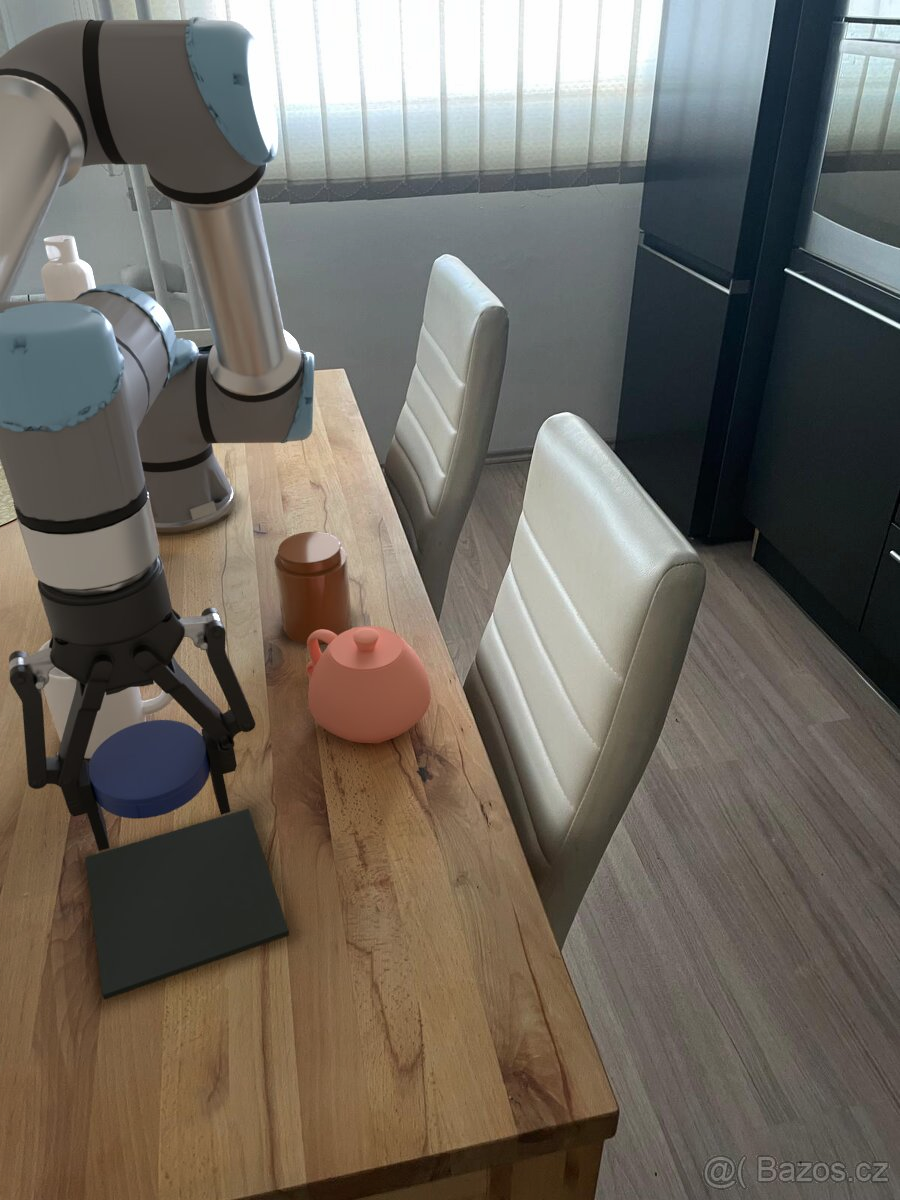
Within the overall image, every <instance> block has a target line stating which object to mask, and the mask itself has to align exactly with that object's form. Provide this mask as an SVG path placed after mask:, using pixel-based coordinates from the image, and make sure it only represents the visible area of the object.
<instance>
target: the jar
mask: <svg viewBox="0 0 900 1200" xmlns="http://www.w3.org/2000/svg"><path fill="white" fill-rule="evenodd" d="M348 566H349V565H348V556H347V552H346V551H345V549H344V548H343V547H342V545H341V541H340V540H339V539H338V538H337V537H336V536H335V535H332V534H330V533H328V532H322V531H304V532H299V533H296V534H293V535H290V536H288V537H287V538H285V539H283V541H281V543H280V544H279V546H278V550H277V554H276V555H275V558H274V569H275V576H276V577H275V578H276V584H277V593H278V601H279V607H280V615H281V623H282V624H281V625H282V629H283V630H282V631H283V632H284V635H285V636H287V637H288V639H290V640H291V641H294V642H297V643H300V644H305V645H307V640H308V638H309V636H310V635H311V634H312V633H313V632H315V631H317V630H321V629H324V630H329V631H331V632H333V633H335V634H336V635H337V636H338V635H339V634H341V633H343V632H345V631H347V630H349V629H351V626H352V625H353V619H352V618H353V617H352V605H351V592H350V580H349V567H348ZM318 644H319V645H320V644H321V645H322V644H327V643H326V642H324V641H322V640H319V639H318Z"/></svg>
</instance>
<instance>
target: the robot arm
mask: <svg viewBox="0 0 900 1200" xmlns="http://www.w3.org/2000/svg"><path fill="white" fill-rule="evenodd" d="M278 148H279V133H278V119H277V114H276V110H275V106H274V97H273V91H272V86H271V81H270V77H269V73H268V70H267V67H266V63H265V61H264V58H263V55H262V52H261V50H260V48H259V45H258V42H257V41H256V40H255V38H254V36H253V35H252V33H251V32H250V31H249V30H248V29H247V28H245V27H244V25H242V24H240V23H239V22H236V21H233V20H221V19H220V20H217V19H215V20H214V19H207V18H206V17H202V16H192V17H190V18H189V19H105V20H104V19H101V20H100V19H99V20H94V19H91V18H90V19H74V20H70V21H69V20H68V21H64V22H60V23H56V24H54V25H52V26H49V27H45V28H43V29H41V30H39V31H38V32H35V33H33V34H32V35H30V36H28V37H27V38H25V39H24V40H22V41H20V42H19V43H17V44H15V45H14V46H13V47H12V48H11V49H9V50H7V52H5V53H4V54H3V55H1V56H0V464H1V467H2V469H3V473H4V477H5V479H6V483H7V485H8V488H9V492H10V494H11V498H12V500H13V502H12V504H13V507H14V512H15V515H16V520H17V524H18V527H19V530H20V532H21V537H22V540H23V543H24V546H25V549H26V552H27V556H28V559H29V562H30V566H31V569H32V571H33V574H34V577H35V578H36V579H37V589H38V592H39V596H40V598H41V599H40V600H41V602H42V605H43V609H44V612H45V615H46V618H47V622H48V626H49V628H50V632H51V638H50V639H51V641H50V644H49V648H47V649H44V650H41V651H39V650H38V651H39V652H38V651H35V652H33V653H30V654H28V653H27V652H26V651H23V650H15V651H13V652H10V654H9V656H8V671H9V672H8V673H9V683H10V685H11V686H12V688H13V690H14V692H15V693H16V694H17V696H18V698H19V700H20V701H21V707H22V719H23V733H24V747H25V760H26V775H27V784H28V787H30V788H31V789H33V790H40V789H42V788H44V787H46V786H47V785H55V786H58V787H59V788H60V789H61V792H62V795H63V798H64V801H65V804H66V807H67V811H68V813H69V814H70V815H71V816H72V817H74V818H76V817H79V816H82V815H85V814H86V816H87V818H88V821H89V823H90V824H89V825H90V827H91V830H92V834H93V838H94V840H95V843H96V846H97V849H98V852H102V851H106V850H108V849H110V842H109V834H108V829H107V822H106V819H105V816H104V815H105V814H104V812H103V808H102V807H101V806H100V805H99V803H98V802H97V800H96V798H95V795H94V792H93V789H92V785H91V782H90V778H89V771H88V767H89V763H88V760H87V759H85V758H84V756H85V753H86V749H87V746H88V743H89V739H90V736H91V732H92V729H93V725H94V722H95V718H96V715H97V712H98V711H99V710H100V708H101V705H102V701H103V698H104V695H105V692H106V695H110V694H114V693H118V692H120V691H123V690H125V689H127V688H129V687H139V688H143V687H146V686H151V685H154V684H156V685H157V686H158V687H159V688H160V689H161V691H164V692H165V693H166V694H168V693H169V694H170V695H171V696H172V697H173V700H175V702H177V703H178V704H179V706H180V707H181V708H182V709H183V710H184V711H185V712H186V713H187V715H189V716H190V717H191V719H193V720H194V721H195V722H196V723H197V724H198V725H199V727H201V735H202V736H203V738H204V741H205V744H206V748H207V753H208V758H209V763H210V773H209V776H210V779H211V784H212V789H213V793H214V796H215V800H216V803H217V804H216V805H217V807H218V810H219V814H220V815H221V816H224V815H227V814H230V813H231V808H230V803H229V802H230V801H229V798H228V796H229V795H228V793H227V792H228V791H227V787H226V781H225V777H224V775H226V774H229V773H234V772H236V770H237V766H238V764H237V758H236V757H237V756H236V752H235V745H236V744H235V739H234V738H235V737H236V735H238V734H239V733H241V732H242V733H250V732H252V731H253V730H254V729H255V728H256V721H255V718H254V715H253V712H252V710H251V707H250V704H249V702H248V700H247V698H246V695H245V693H244V691H243V688H242V686H241V684H240V681H239V679H238V677H237V674H236V672H235V669H234V668H233V665H232V662H231V661H230V658H229V656H228V653H227V651H226V641H227V640H226V639H227V638H226V636H227V632H226V628H225V626H224V623H223V621H222V618H221V616H220V612H219V611H218V609H217V608H215V607H206V608H205V609H204V610H202V612H201V614H200V615H198V616H186V617H185V616H183V617H181V616H180V614H179V613H178V612H177V611H176V610H175V609H174V608H173V606H172V601H171V596H170V591H169V586H168V581H167V577H166V572H165V568H164V562H163V559H162V557H161V555H160V548H161V547H160V543H159V539H158V536H175V535H183V534H189V533H194V532H198V531H201V530H202V531H203V530H204V529H205V530H206V529H208V528H211V527H212V526H215V525H217V524H218V523H221V522H222V521H223V520H225V519H226V518H227V517H228V516H229V515H230V514H231V513H232V511H233V510H234V509H235V497H234V491H233V487H232V486H231V485H232V484H230V481H229V480H228V478H227V476H226V474H225V473H224V471H223V468H222V467H221V465H220V463H219V461H218V459H217V457H216V455H215V453H214V449H213V448H214V447H213V444H278V443H279V444H285V443H289V442H301V441H305V440H307V439H308V438H309V437H310V436H311V435H312V432H313V422H314V420H313V419H314V418H313V417H314V388H315V386H314V385H315V355H314V354H313V353H312V352H308V351H307V352H306V350H301V349H300V346H299V344H298V342H297V340H296V339H295V337H293V336H292V335H291V334H290V333H289V332H288V331H286V330H285V329H284V323H283V318H282V313H281V308H280V304H279V297H278V294H277V288H276V283H275V277H274V272H273V267H272V261H271V257H270V256H271V255H270V251H269V246H268V241H267V235H266V230H265V225H264V220H263V215H262V209H261V205H260V199H259V195H258V194H259V193H258V189H257V187H258V186H259V185H260V184H261V182H263V180H264V178H265V176H266V173H267V168H268V163H270V162H272V161H274V160H275V158H276V157H277V153H278ZM96 165H116V166H117V165H118V166H119V165H130V166H131V165H135V166H136V165H138V166H139V165H145V167H146V169H147V172H148V176H149V179H150V182H151V184H152V186H153V188H154V189H155V190H156V191H157V192H158V193H159V194H160V195H161V196H163V198H165V199H167V200H168V201H171V202H172V203H173V207H174V209H175V213H176V217H177V220H178V223H179V227H180V229H181V233H182V236H183V241H184V244H185V247H186V250H187V254H188V258H189V260H190V264H191V267H192V272H193V274H194V278H195V282H196V285H197V288H198V292H199V295H200V299H201V302H202V305H203V309H204V312H205V316H206V319H207V323H208V326H209V330H210V333H211V337H212V340H213V343H214V344H213V345H212V346H211V348H210V350H209V353H200V351H199V347H198V346H197V344H196V343H195V342H194V341H193V340H190V339H184V338H177V336H176V332H175V329H174V326H173V324H172V321H171V318H170V317H169V315H168V314H167V312H166V311H165V310H164V308H163V307H162V306H161V305H160V304H159V302H157V300H155V299H154V298H153V297H152V296H150V295H149V294H147V293H146V292H144V291H142V290H140V289H138V288H135V287H133V286H130V285H126V284H119V283H106V284H102V285H98V286H96V288H94V289H90V290H88V291H86V292H82V293H81V294H80V295H79V296H78V297H77V298H76V299H73V300H61V301H47V300H23V301H21V300H19V301H18V300H16V301H10V300H11V298H12V295H13V294H14V291H15V289H16V286H17V284H18V282H19V279H20V277H21V275H22V272H23V270H24V268H25V265H26V263H27V261H28V259H29V256H30V254H31V252H32V249H33V247H34V245H35V242H36V240H37V237H38V235H39V233H40V230H41V228H42V226H43V224H44V221H45V219H46V216H47V214H48V211H49V210H50V207H51V206H52V205H51V204H52V202H53V201H54V198H55V196H56V193H57V191H58V188H61V187H63V186H65V185H67V184H69V183H70V182H71V181H72V180H73V179H74V178H76V176H77V175H78V174H79V172H80V170H81V168H85V167H88V166H96ZM185 638H189V639H191V641H192V643H193V645H194V647H196V648H198V649H200V650H201V651H205V652H206V655H207V659H208V661H209V662H208V663H209V664H210V667H211V669H212V671H213V673H214V675H215V678H216V681H217V682H218V684H219V686H220V689H221V692H222V693H223V695H224V697H225V699H226V702H227V704H228V707H229V708H230V709H228V710H227V711H225V712H223V711H222V710H221V709H220V707H218V705H216V704H215V702H214V701H213V700H212V699H211V698H210V697H209V696H208V695H207V694H206V693H205V692H204V690H202V688H201V687H200V686H199V685H198V684H197V683H196V682H195V681H194V679H192V678H191V676H189V675H190V674H188V673H187V672H186V671H185V670H184V669H183V668H182V667H181V666H180V664H179V663H178V662H177V660H176V658H175V654H176V652H177V650H179V647H180V645H181V643H182V642H183V640H184V639H185ZM54 667H56V668H58V669H59V670H61V671H62V672H64V673H66V674H67V675H69V676H71V677H72V678H74V679H76V680H77V681H76V690H75V693H74V697H73V701H72V704H71V708H70V711H69V715H68V719H67V722H66V726H65V730H64V733H63V737H62V740H61V741H60V744H59V748H58V750H57V751H55V756H49V757H48V756H47V753H46V751H47V749H46V735H45V717H44V703H43V691H42V690H43V688H44V687H45V685H46V684H47V683H48V682H49V672H50V670H51V669H52V668H54Z"/></svg>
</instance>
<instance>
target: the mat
mask: <svg viewBox="0 0 900 1200" xmlns="http://www.w3.org/2000/svg"><path fill="white" fill-rule="evenodd" d="M265 858H266V857H265V855H264V852H263V848H262V845H261V842H260V839H259V837H258V834H257V830H256V827H255V824H254V821H253V819H252V815H251V811H250V809H249V808H245V809H242V810H238V811H235V812H232V813H227V814H224V815H221V816H218V817H216V818H211V819H208V820H205V821H202V822H198V823H195V824H192V825H188V826H185V827H182V828H178V829H175V830H171V831H169V832H165V833H162V834H158V835H155V836H152V837H147V838H145V839H142V840H138V841H135V842H131V843H129V844H125V845H122V846H118V847H115V848H111V849H109V850H108V849H107V850H103V851H100V852H98V853H95V854H91V855H88V856H85V864H86V865H85V866H86V873H87V882H88V889H89V899H90V907H91V914H92V922H93V932H94V938H95V946H96V947H95V948H96V955H97V962H98V971H99V976H100V977H99V979H100V986H101V995H102V998H103V1000H108V999H110V998H113V997H116V996H120V995H122V994H124V993H128V992H131V991H133V990H136V989H138V988H142V987H145V986H147V985H151V984H153V983H156V982H159V981H163V980H165V979H167V978H170V977H173V976H176V975H180V974H182V973H185V972H187V971H191V970H194V969H197V968H199V967H202V966H205V965H208V964H210V963H213V962H217V961H220V960H222V959H225V958H229V957H231V956H233V955H236V954H239V953H242V952H245V951H248V950H251V949H254V948H257V947H259V946H262V945H266V944H268V943H271V942H274V941H277V940H280V939H283V938H286V937H288V936H290V931H289V928H288V924H287V922H286V919H285V915H284V912H283V910H282V906H281V904H280V900H279V897H278V894H277V891H276V889H275V885H274V881H273V879H272V876H271V873H270V870H269V867H268V864H267V861H266V859H265Z"/></svg>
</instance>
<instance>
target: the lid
mask: <svg viewBox="0 0 900 1200" xmlns="http://www.w3.org/2000/svg"><path fill="white" fill-rule="evenodd" d="M89 760H90V761H89V763H88V766H89V767H88V771H89V778H90V782H91V785H92V789H93V792H94V795H95V798H96V800H97V802H98V803H99V805H100V806H101V809H103V810H104V811H106V812H108V813H110V814H111V815H113V816H116V817H120V818H123V819H125V818H126V819H133V820H139V819H140V820H141V819H148V818H156V817H159V816H162V815H166V814H169V813H171V812H173V811H176V810H178V809H179V808H182V807H183V806H185V805H187V804H188V803H189V802H190V801H192V800H193V799H194V798H195V797H196V796H197V795H199V793H200V792H201V791H202V790H203V789H204V787H205V785H206V784H207V782H208V779H209V776H210V763H209V758H208V753H207V748H206V744H205V741H204V738H203V736H202V733H201V732H200V731H199V730H198V729H196V728H195V727H193V726H192V725H190V724H187V723H185V722H182V721H177V720H172V719H155V720H146V722H142V723H138V724H135V725H132V726H129V727H127V728H124V729H122V730H120V731H118V732H116V733H115V734H113V735H112V736H110V737H109V738H108V739H106V740H105V741H104V742H103V743H102V744H101V745H100V746H99V747H98V748H97V749H96V751H95V752H94V754H93V755H92V757H91V759H89Z"/></svg>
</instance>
